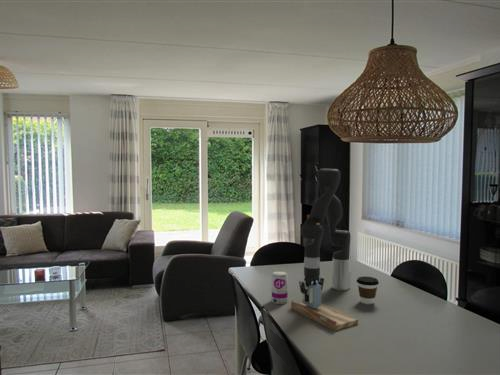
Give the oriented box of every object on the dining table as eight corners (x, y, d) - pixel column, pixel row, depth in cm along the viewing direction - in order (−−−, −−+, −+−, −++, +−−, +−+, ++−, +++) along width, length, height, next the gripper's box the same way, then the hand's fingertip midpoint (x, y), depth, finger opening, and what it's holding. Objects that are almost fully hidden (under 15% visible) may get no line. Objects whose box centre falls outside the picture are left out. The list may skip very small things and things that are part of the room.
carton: (321, 306, 187) (321, 285, 186) (313, 308, 184) (313, 287, 184) (310, 301, 194) (310, 281, 193) (302, 303, 191) (302, 282, 190)
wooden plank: (313, 303, 200) (313, 295, 200) (358, 323, 175) (358, 315, 174) (290, 308, 193) (290, 300, 192) (334, 330, 167) (334, 321, 167)
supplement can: (286, 305, 198) (286, 275, 197) (270, 303, 199) (270, 274, 199) (288, 299, 206) (288, 271, 205) (272, 298, 207) (272, 270, 206)
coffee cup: (379, 300, 205) (380, 277, 204) (376, 307, 195) (377, 283, 194) (358, 297, 209) (358, 275, 209) (354, 304, 200) (354, 280, 199)
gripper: (305, 269, 181) (305, 306, 182) (328, 265, 188) (328, 300, 189) (295, 266, 187) (294, 301, 188) (318, 262, 195) (317, 296, 196)
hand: (311, 300), depth 189 cm, fingers closed on carton, 5 cm apart
